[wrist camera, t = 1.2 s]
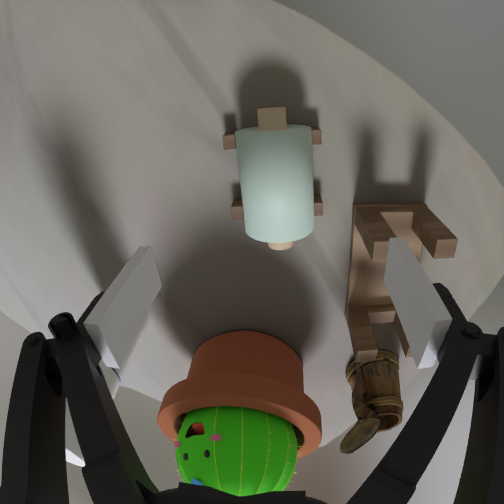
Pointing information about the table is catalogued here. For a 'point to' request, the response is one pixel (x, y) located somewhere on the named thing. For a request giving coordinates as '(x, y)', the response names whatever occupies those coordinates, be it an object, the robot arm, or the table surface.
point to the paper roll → (276, 179)
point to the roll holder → (374, 264)
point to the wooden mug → (373, 398)
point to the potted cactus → (241, 415)
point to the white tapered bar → (113, 382)
